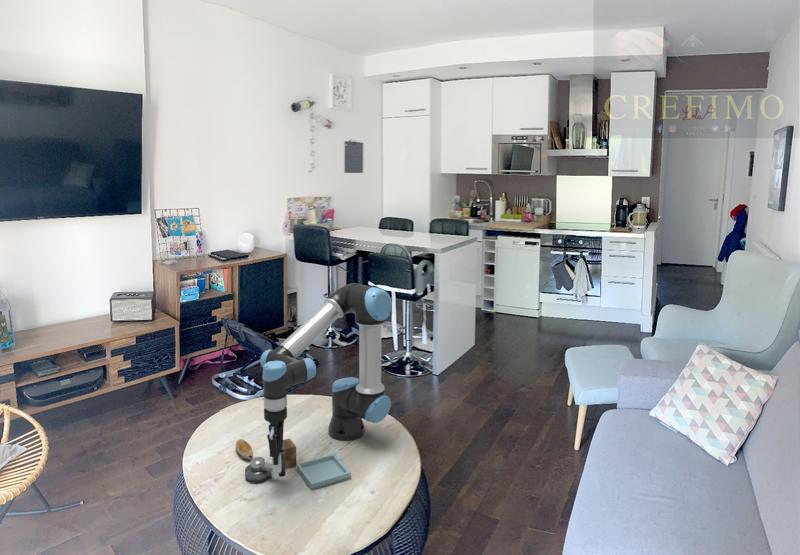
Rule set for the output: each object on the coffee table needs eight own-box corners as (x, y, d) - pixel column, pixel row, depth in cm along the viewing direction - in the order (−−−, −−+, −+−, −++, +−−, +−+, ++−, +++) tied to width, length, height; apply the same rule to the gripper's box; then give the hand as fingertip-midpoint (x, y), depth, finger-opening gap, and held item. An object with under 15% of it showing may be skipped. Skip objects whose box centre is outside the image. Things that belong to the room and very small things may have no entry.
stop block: (290, 457, 215) (289, 438, 214) (296, 466, 209) (296, 446, 208) (277, 460, 213) (276, 441, 211) (283, 469, 207) (283, 449, 205)
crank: (247, 470, 200) (246, 450, 198) (256, 464, 205) (255, 443, 203) (281, 479, 195) (280, 458, 194) (288, 472, 200) (288, 451, 198)
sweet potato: (242, 464, 210) (242, 453, 209) (233, 447, 222) (232, 437, 221) (256, 460, 213) (256, 450, 212) (246, 444, 225) (245, 434, 224)
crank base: (241, 471, 205) (240, 464, 204) (265, 465, 209) (265, 458, 209) (249, 486, 196) (248, 478, 195) (274, 479, 201) (274, 471, 200)
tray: (333, 459, 214) (333, 453, 214) (351, 478, 202) (350, 472, 201) (296, 469, 207) (296, 463, 206) (311, 490, 194) (311, 484, 194)
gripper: (269, 398, 194) (271, 460, 199) (258, 415, 181) (260, 481, 186) (291, 399, 194) (292, 461, 199) (281, 416, 181) (283, 482, 186)
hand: (277, 471), depth 193 cm, fingers closed
